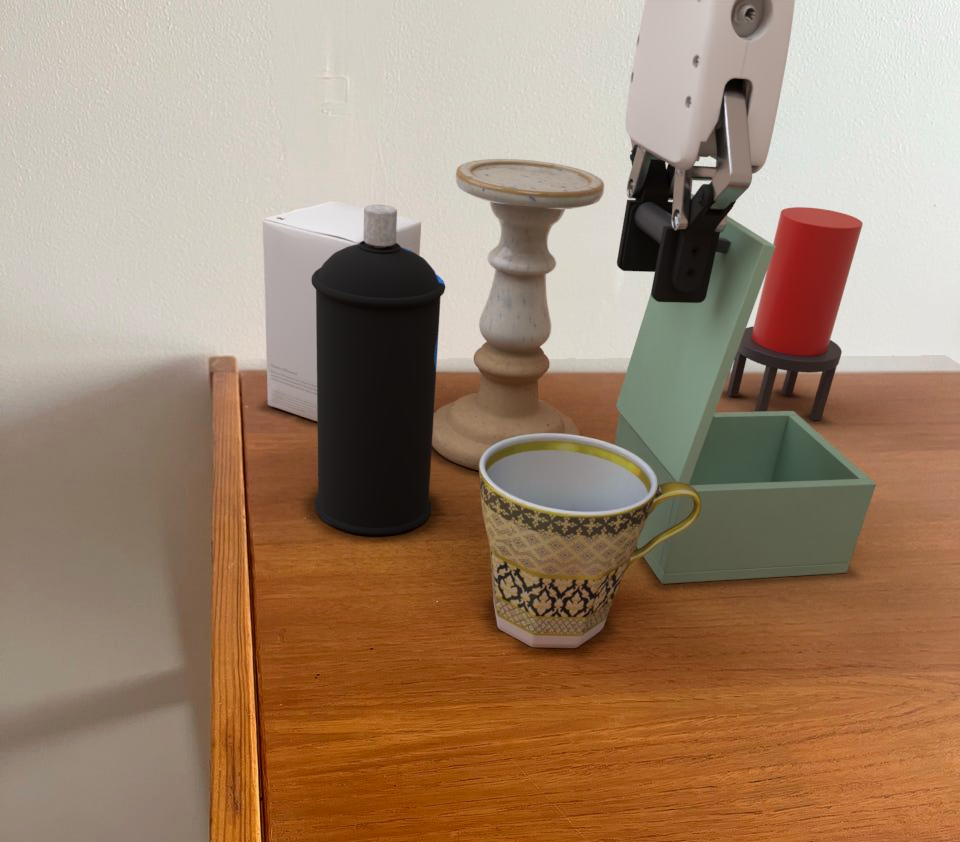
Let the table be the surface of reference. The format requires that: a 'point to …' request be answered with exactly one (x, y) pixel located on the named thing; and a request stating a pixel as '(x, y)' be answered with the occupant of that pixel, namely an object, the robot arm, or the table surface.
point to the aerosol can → (376, 381)
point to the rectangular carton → (306, 292)
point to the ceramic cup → (565, 531)
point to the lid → (690, 347)
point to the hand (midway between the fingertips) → (659, 281)
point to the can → (805, 280)
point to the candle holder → (513, 306)
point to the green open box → (757, 502)
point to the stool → (791, 365)
